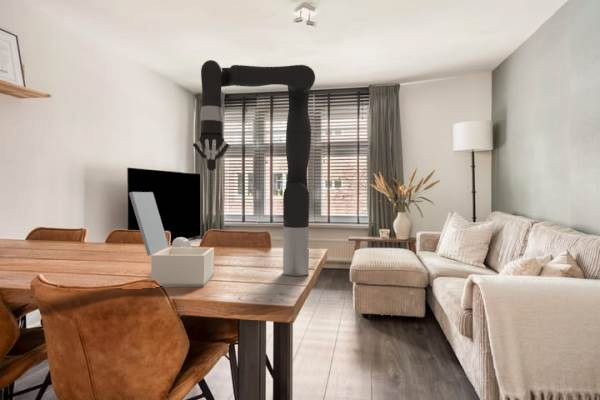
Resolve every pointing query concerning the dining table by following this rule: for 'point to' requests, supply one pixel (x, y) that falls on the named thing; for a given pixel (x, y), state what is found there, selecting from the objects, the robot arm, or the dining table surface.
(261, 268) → the dining table surface
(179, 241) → the white rounded piece
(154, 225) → the carton lid
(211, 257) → the carton
